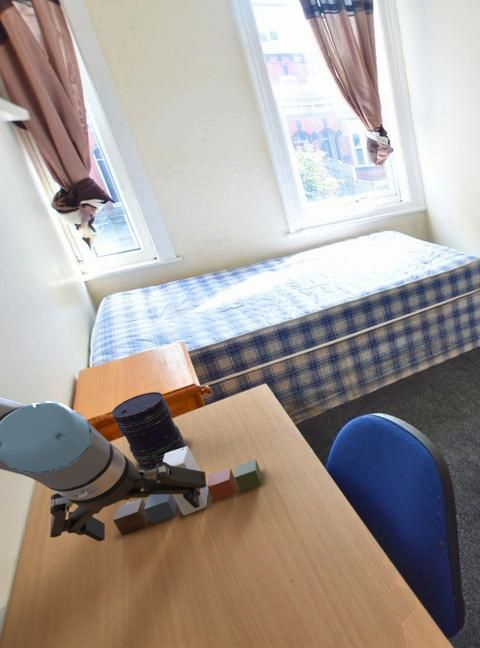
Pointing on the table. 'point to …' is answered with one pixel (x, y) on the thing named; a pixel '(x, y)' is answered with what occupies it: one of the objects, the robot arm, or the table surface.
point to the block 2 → (160, 507)
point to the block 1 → (131, 516)
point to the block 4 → (248, 475)
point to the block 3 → (222, 484)
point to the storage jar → (148, 428)
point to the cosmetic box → (187, 461)
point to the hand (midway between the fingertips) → (151, 515)
